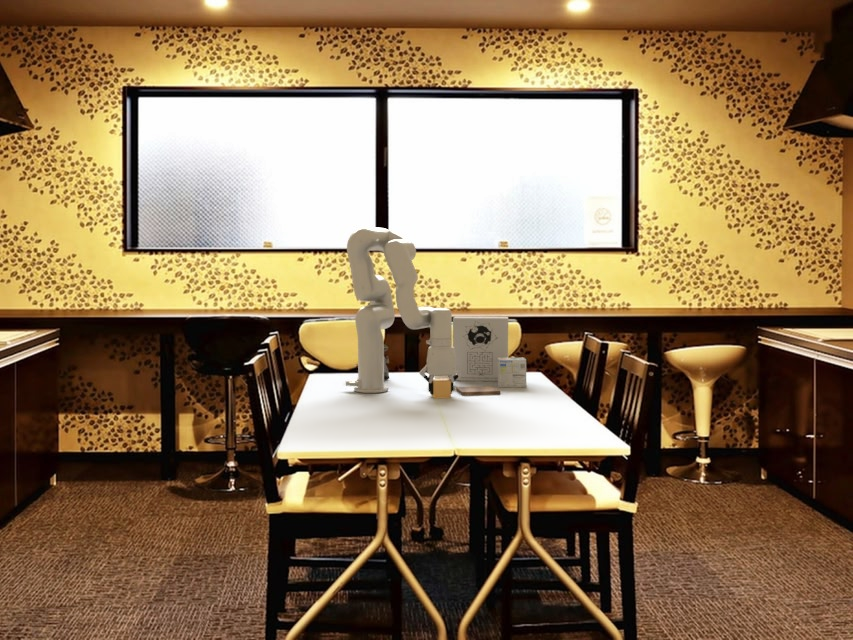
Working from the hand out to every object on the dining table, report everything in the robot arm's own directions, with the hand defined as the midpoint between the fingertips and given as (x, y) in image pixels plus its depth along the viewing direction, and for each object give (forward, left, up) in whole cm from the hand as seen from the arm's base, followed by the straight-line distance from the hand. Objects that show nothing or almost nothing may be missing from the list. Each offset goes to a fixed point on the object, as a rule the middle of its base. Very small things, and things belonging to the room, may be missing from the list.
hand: (440, 393), depth 328 cm
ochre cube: (0, 0, -1) cm, 1 cm away
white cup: (+6, +26, -1) cm, 27 cm away
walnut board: (+15, +7, -1) cm, 16 cm away
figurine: (-19, +44, -1) cm, 48 cm away
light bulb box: (+31, +19, -1) cm, 36 cm away
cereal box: (+23, +37, -1) cm, 44 cm away
